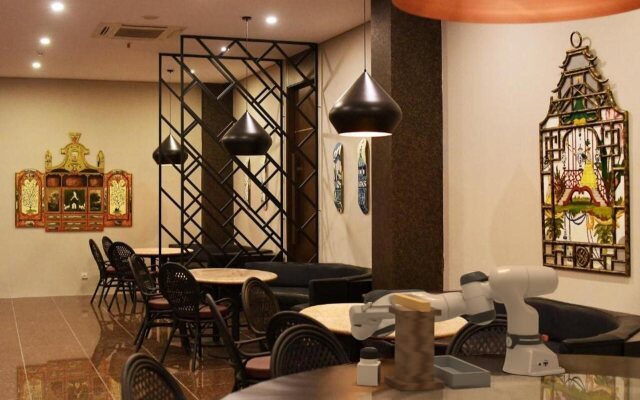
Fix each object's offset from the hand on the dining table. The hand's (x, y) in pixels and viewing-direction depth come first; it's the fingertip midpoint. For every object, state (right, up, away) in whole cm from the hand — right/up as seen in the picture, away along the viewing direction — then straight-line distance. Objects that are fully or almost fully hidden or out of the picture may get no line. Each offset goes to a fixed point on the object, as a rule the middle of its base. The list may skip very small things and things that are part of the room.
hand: (382, 303), depth 302 cm
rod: (+8, +2, -26) cm, 27 cm away
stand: (+9, -24, -29) cm, 38 cm away
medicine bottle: (-7, -24, -27) cm, 37 cm away
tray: (+23, -24, -18) cm, 38 cm away
